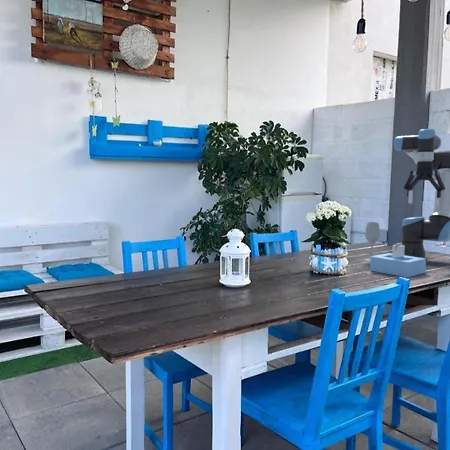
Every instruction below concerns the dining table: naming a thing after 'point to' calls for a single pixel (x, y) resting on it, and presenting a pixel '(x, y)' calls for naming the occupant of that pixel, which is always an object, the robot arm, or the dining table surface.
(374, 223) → the wineglass
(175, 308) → the dining table surface
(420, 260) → the well block
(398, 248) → the light grey tall block
